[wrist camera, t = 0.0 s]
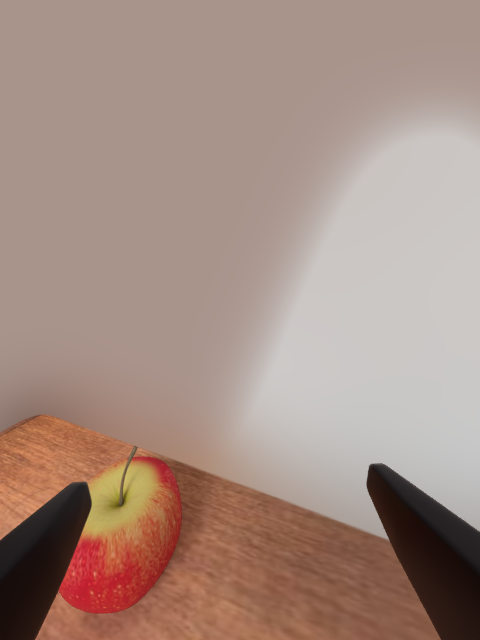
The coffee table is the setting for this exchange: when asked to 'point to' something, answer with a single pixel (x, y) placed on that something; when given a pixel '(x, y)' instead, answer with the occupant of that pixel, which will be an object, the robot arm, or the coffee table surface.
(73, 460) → the coffee table surface
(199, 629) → the coffee table surface
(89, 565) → the apple
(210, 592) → the coffee table surface
